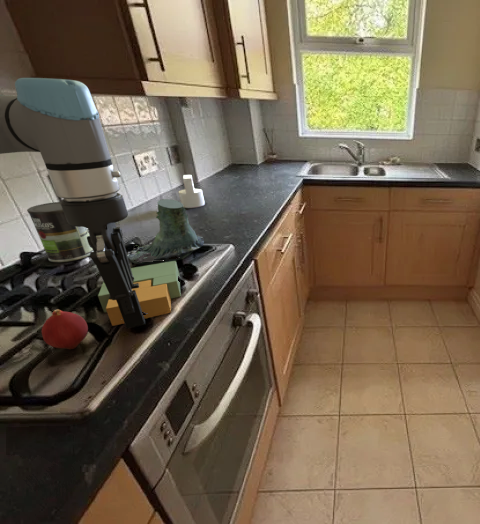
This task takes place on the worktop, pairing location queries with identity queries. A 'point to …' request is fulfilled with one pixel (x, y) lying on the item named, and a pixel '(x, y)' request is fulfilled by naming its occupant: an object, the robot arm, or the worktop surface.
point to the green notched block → (156, 274)
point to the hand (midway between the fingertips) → (136, 324)
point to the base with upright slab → (191, 194)
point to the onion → (64, 330)
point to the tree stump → (170, 235)
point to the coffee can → (59, 233)
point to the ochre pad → (144, 302)
